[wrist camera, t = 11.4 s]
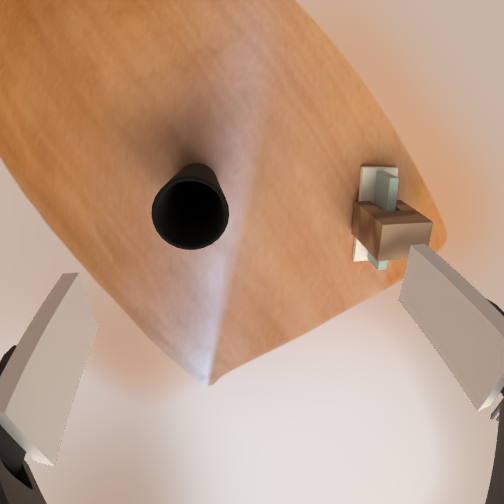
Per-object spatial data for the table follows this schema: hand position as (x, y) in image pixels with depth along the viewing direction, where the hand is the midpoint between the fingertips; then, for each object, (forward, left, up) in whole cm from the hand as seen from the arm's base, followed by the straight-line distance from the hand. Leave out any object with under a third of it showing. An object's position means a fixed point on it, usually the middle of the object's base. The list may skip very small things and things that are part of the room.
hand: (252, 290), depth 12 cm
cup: (+4, -4, -32) cm, 32 cm away
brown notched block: (+10, +22, -31) cm, 39 cm away
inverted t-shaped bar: (+10, +22, -32) cm, 40 cm away
